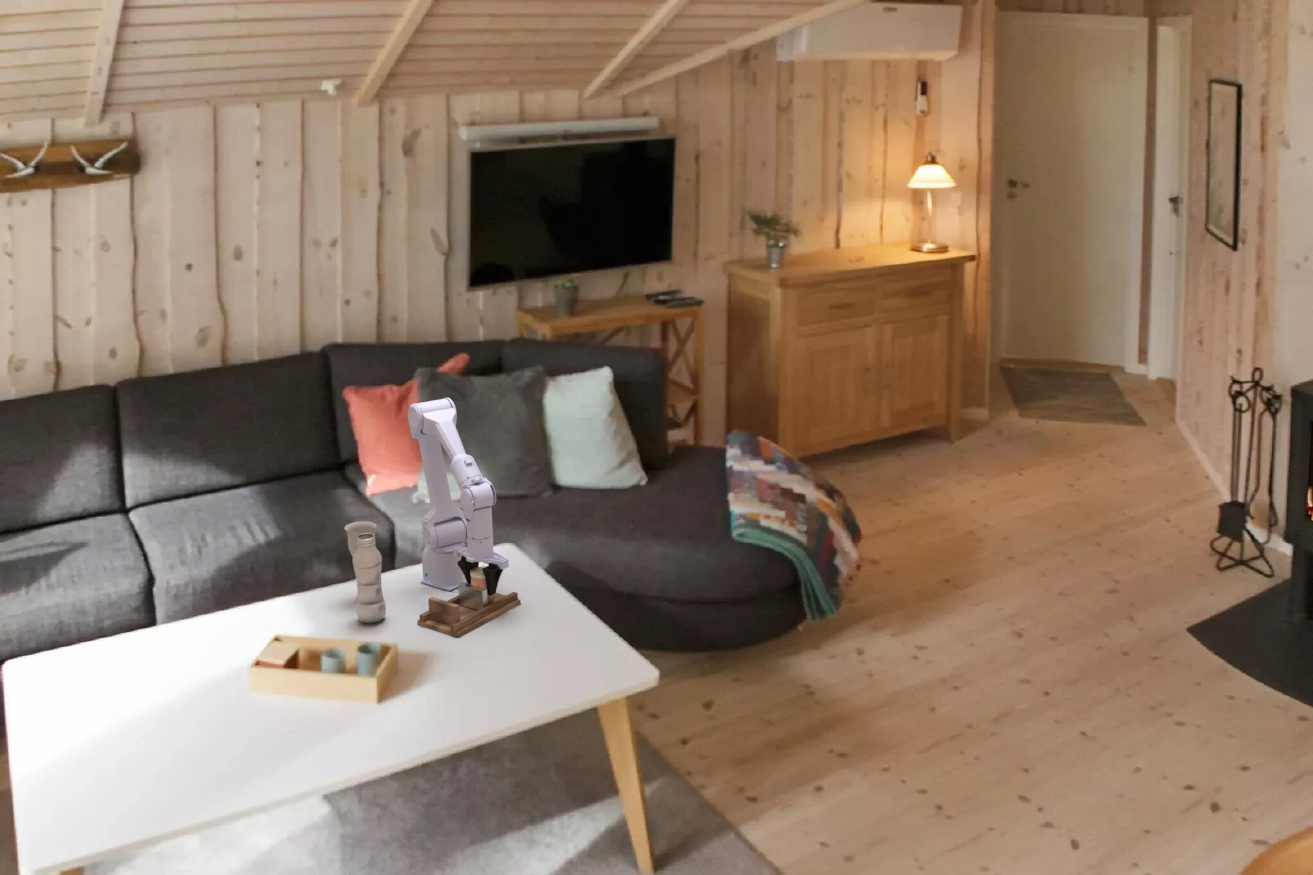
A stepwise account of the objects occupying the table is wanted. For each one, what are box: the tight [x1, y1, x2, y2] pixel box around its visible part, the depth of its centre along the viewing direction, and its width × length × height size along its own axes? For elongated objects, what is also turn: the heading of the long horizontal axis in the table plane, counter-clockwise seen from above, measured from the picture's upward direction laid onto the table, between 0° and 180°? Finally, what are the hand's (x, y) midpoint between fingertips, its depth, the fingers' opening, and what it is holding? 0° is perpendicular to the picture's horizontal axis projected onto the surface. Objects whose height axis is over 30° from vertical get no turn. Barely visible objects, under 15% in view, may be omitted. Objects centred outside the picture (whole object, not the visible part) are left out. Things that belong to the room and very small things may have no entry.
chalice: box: [344, 521, 378, 604], centre depth 301 cm, size 7×7×18 cm
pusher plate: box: [457, 582, 488, 610], centre depth 296 cm, size 7×2×5 cm, turn 56°
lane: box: [416, 591, 522, 639], centre depth 295 cm, size 12×21×6 cm, turn 146°
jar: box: [470, 565, 494, 603], centre depth 298 cm, size 5×5×7 cm
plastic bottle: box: [352, 533, 387, 624], centre depth 290 cm, size 6×7×20 cm
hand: (482, 591), depth 299 cm, fingers closed on jar, 5 cm apart
